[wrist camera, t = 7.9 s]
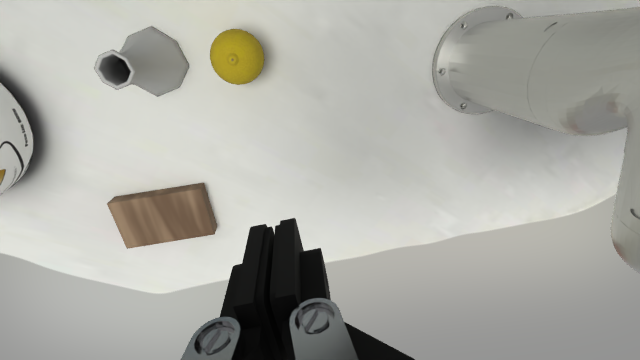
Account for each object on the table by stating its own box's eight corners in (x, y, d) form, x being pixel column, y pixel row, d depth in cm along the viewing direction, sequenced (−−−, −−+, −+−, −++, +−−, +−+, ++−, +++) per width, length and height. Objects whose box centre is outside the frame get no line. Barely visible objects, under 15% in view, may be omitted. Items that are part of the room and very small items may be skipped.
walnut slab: (200, 188, 43) (107, 203, 42) (214, 234, 45) (127, 248, 45) (204, 181, 45) (116, 195, 44) (217, 224, 48) (134, 238, 47)
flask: (201, 66, 39) (174, 75, 30) (159, 106, 40) (122, 127, 31) (150, 13, 36) (105, 5, 27) (108, 58, 37) (50, 64, 28)
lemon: (232, 87, 40) (220, 98, 33) (209, 41, 38) (190, 42, 30) (273, 69, 40) (271, 76, 32) (253, 21, 37) (245, 17, 30)
